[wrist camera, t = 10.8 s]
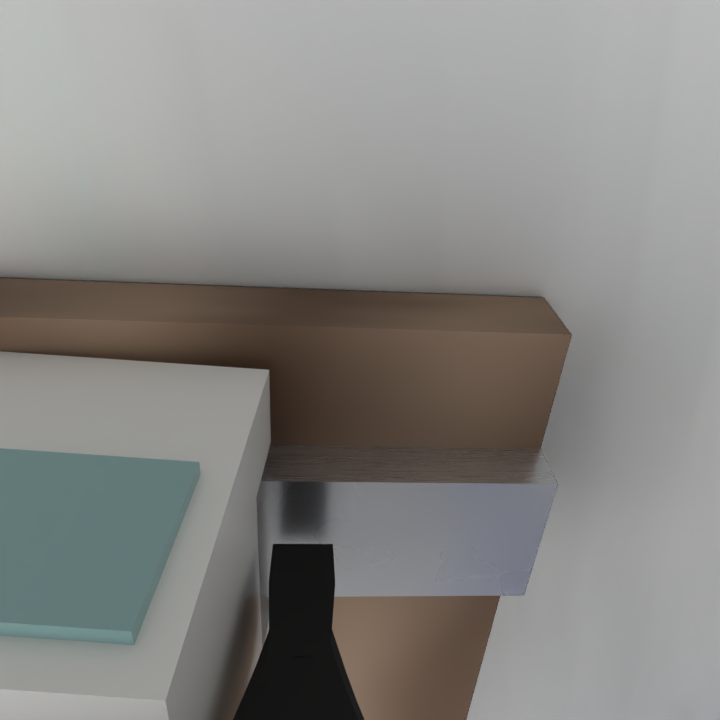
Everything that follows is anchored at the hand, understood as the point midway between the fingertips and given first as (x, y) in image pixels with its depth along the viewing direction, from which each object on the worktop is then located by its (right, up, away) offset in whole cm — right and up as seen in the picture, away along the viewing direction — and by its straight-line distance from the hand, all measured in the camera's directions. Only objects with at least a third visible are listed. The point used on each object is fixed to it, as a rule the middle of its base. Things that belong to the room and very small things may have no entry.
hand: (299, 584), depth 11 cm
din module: (-3, +1, +1) cm, 3 cm away
